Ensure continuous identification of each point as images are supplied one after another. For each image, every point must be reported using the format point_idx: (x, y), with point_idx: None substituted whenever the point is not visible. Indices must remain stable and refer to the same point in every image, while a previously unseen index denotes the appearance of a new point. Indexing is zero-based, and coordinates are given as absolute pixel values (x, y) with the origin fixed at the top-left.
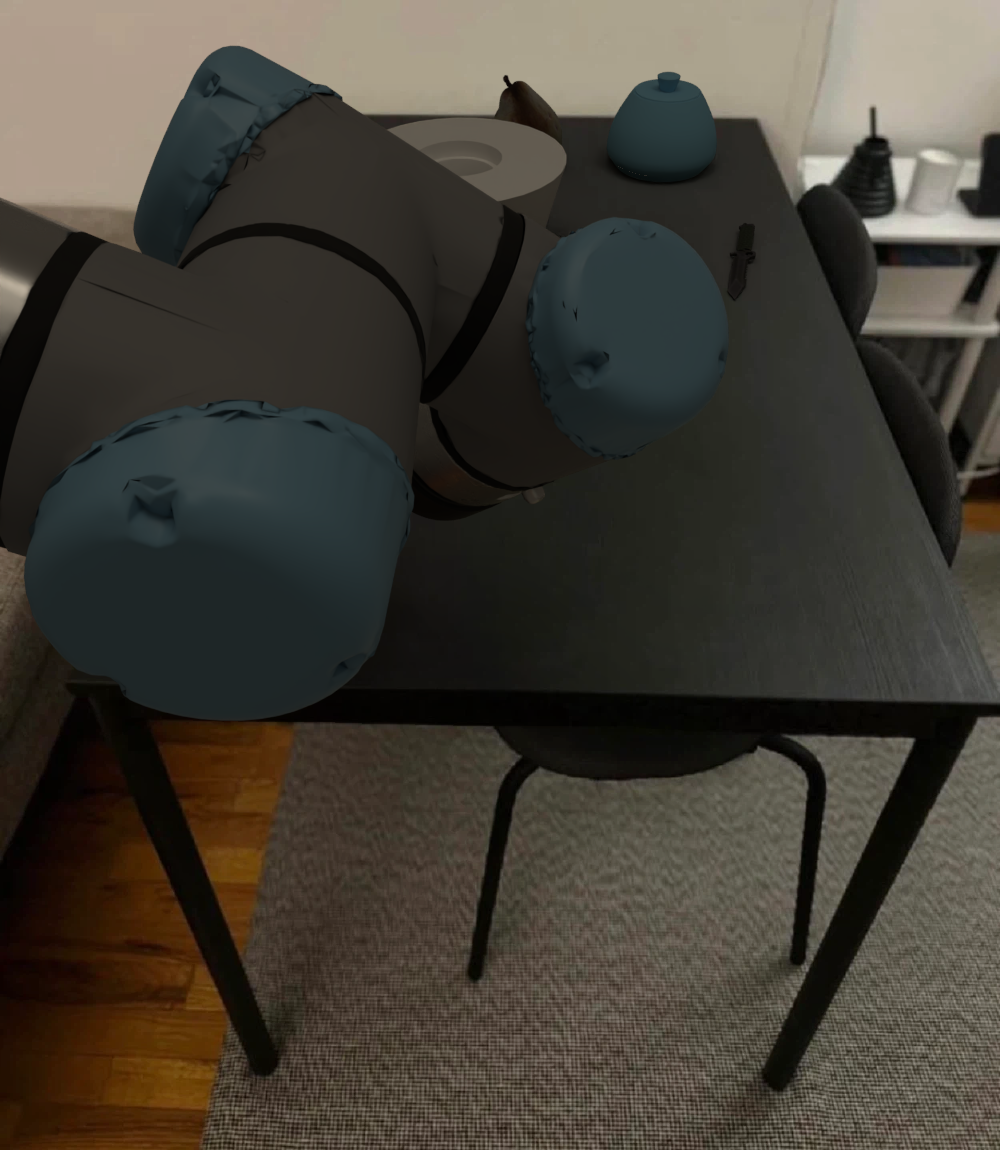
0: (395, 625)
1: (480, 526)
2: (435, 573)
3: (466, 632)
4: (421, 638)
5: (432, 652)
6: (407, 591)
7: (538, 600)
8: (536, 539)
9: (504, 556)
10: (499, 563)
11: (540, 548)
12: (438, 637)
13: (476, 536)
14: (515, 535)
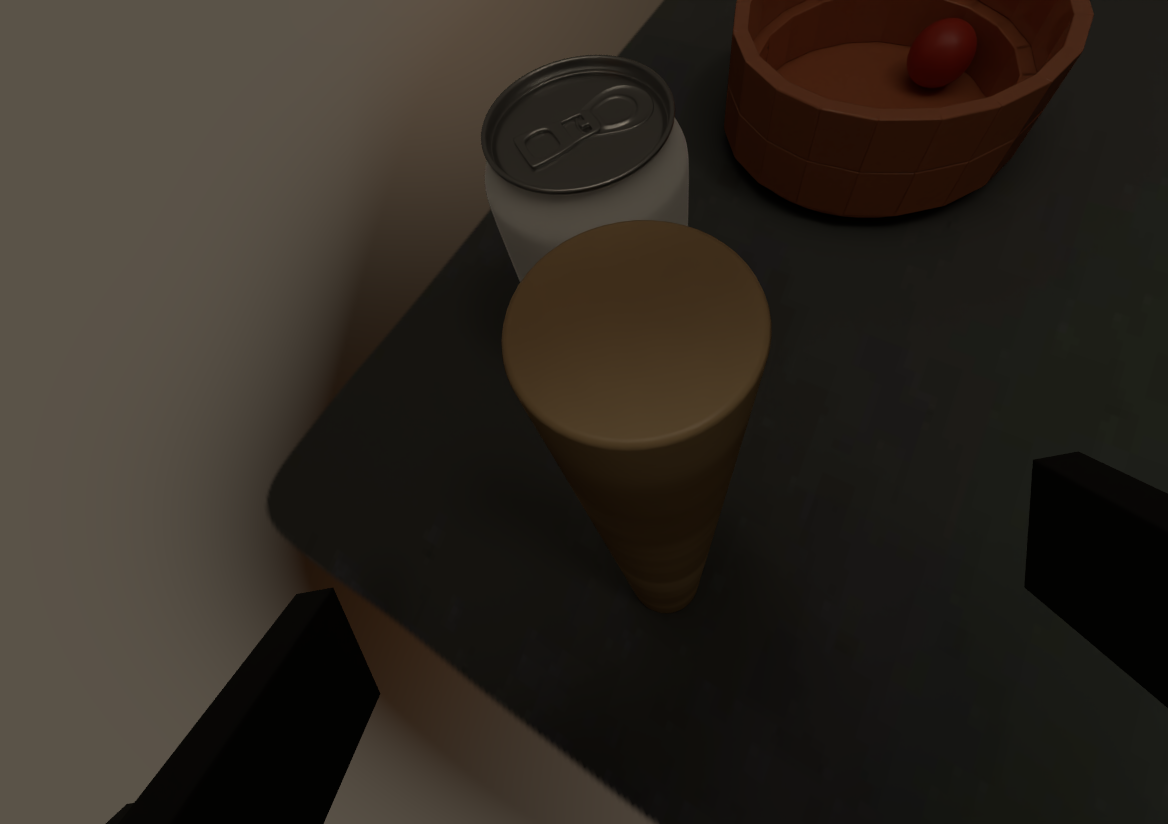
0: (740, 676)
1: (1018, 495)
2: (873, 578)
3: (889, 794)
4: (781, 747)
5: (791, 805)
6: (797, 596)
7: (1111, 802)
8: None
9: None
10: (1035, 625)
11: None
12: (819, 768)
13: (1000, 519)
14: None
